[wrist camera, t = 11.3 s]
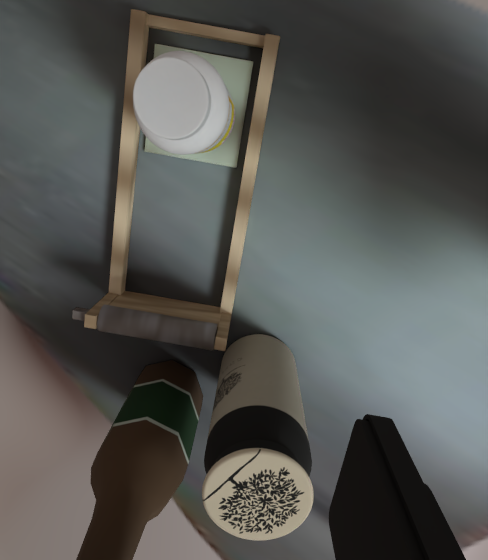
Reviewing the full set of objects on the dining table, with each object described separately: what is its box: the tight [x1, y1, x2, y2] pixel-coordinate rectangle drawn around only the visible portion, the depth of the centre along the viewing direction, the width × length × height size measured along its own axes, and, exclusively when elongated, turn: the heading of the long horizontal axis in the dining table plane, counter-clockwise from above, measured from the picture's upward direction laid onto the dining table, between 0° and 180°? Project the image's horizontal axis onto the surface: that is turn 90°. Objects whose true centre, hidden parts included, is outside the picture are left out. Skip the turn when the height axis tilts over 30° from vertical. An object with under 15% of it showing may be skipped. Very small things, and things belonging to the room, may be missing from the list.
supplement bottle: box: [133, 51, 235, 155], centre depth 32 cm, size 7×7×13 cm
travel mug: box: [202, 334, 313, 540], centre depth 37 cm, size 8×8×18 cm
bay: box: [72, 9, 280, 351], centre depth 36 cm, size 27×14×7 cm, turn 170°
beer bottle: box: [77, 360, 203, 560], centre depth 35 cm, size 8×8×24 cm
